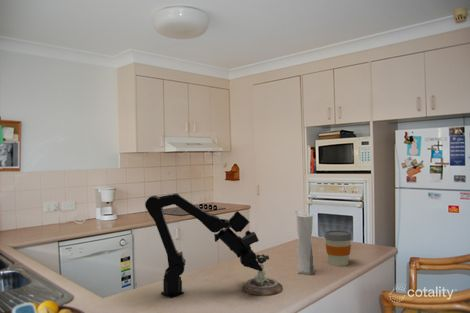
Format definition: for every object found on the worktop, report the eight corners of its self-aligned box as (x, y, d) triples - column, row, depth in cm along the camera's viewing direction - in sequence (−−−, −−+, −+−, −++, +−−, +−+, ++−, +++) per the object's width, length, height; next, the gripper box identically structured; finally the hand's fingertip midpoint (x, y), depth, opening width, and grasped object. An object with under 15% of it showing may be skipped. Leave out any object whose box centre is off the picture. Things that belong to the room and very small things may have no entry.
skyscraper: (294, 273, 171) (293, 211, 171) (298, 268, 179) (296, 209, 179) (313, 275, 168) (312, 212, 168) (316, 270, 176) (315, 209, 176)
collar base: (264, 299, 141) (264, 292, 141) (234, 289, 152) (234, 282, 152) (290, 288, 152) (290, 281, 152) (260, 279, 164) (260, 273, 164)
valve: (265, 282, 156) (264, 253, 156) (272, 287, 150) (272, 257, 150) (250, 285, 154) (250, 255, 154) (257, 290, 148) (257, 259, 148)
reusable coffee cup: (342, 268, 177) (341, 236, 177) (320, 263, 187) (319, 232, 187) (356, 263, 185) (356, 232, 185) (334, 258, 195) (334, 229, 195)
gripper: (249, 230, 142) (279, 258, 144) (243, 222, 161) (268, 247, 162) (229, 252, 141) (258, 280, 143) (224, 241, 160) (250, 266, 161)
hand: (259, 267), depth 152 cm, fingers open, 9 cm apart
